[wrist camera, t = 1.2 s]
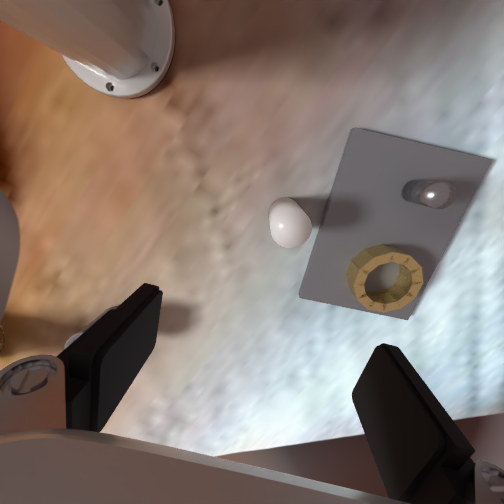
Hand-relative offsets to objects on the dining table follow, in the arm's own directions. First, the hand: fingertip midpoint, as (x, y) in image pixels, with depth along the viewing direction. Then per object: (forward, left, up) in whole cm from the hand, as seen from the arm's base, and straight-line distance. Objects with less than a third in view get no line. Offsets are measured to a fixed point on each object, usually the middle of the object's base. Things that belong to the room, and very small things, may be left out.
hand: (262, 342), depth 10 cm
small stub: (-8, +16, -22) cm, 28 cm away
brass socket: (+3, +16, -22) cm, 27 cm away
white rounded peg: (-2, +2, -23) cm, 23 cm away
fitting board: (-2, +15, -23) cm, 28 cm away
